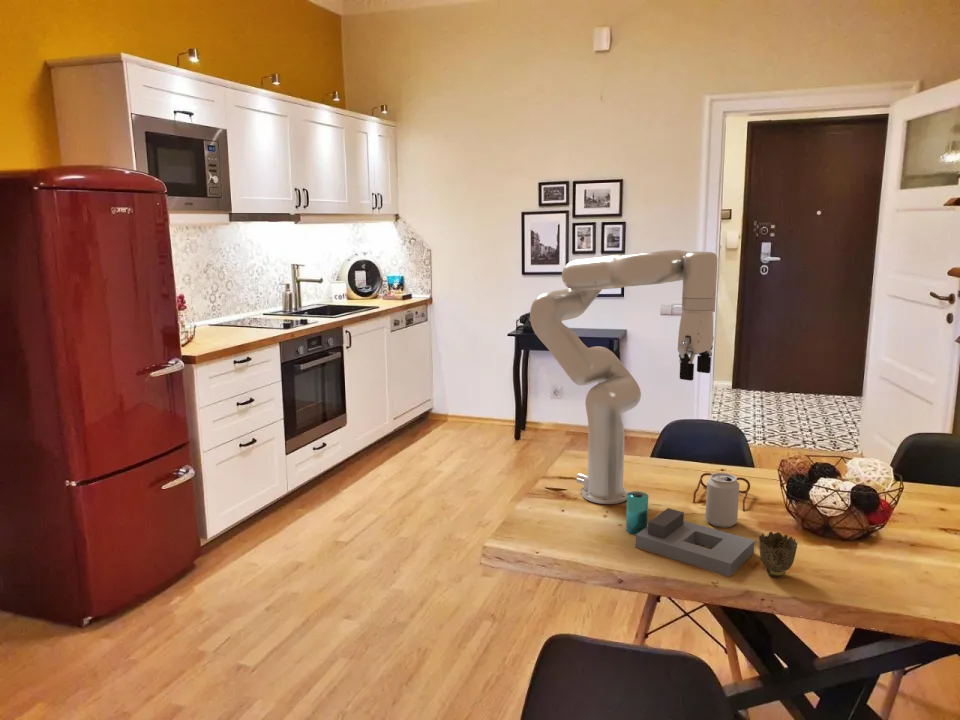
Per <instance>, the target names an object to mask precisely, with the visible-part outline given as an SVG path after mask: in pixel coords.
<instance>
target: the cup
mask: <svg viewBox="0 0 960 720" xmlns="http://www.w3.org/2000/svg"><path fill="white" fill-rule="evenodd" d="M758 540H759V541H758V544H759V545H758V546H759V556H760V561H761V562H762V563H761V564H763V566H764V567H765V568H766V569H765V570H766V573H767V575H768V576H770V577H773V578H783V577H784V576H785V574H786V571H788V570H789V569H790V568H791V567H792V566H793V564H794V561H795V558H796V555H797V554H796V553H797V548H798V541H796V538H793V536H790V537H789V536H788V534H784V535H782V533H781V532H779V531H777V532H775V533H773V531H769V532H768V535H765V534H764V533H761V535H759V536H758Z"/></svg>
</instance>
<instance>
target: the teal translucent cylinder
mask: <svg viewBox="0 0 960 720" xmlns="http://www.w3.org/2000/svg"><path fill="white" fill-rule="evenodd" d="M628 492H629V491H628ZM648 513H649V494H647V493H646V492H644V491H639V490H638V491H637V490H636V491H634V490H633V491H630V492H629V493H628V494H627V500H626V518H625V531H626V532H627V533H629V534H631V535H635V536H636V534H637V533H639V532H640V531H642V530H643V529H645V528H646V527H647V526H648V522H649V520H648V518H649V516H648Z"/></svg>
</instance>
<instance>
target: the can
mask: <svg viewBox="0 0 960 720" xmlns="http://www.w3.org/2000/svg"><path fill="white" fill-rule="evenodd" d="M711 474H712V475H710V476H709V477H710V478H709V479H708V480H706V481H707V482H706V483H707V484H706V485H707V488H706V500H705V501H706V502H705V517H704V518H705V520H706V521H707V522H708V523H709V524H710V525H712V526H714V527H716V528H724V529H725V528H731V527H733V526H734V525H735V524H736V525H737V523H738V517H739V516H738V514H739V498H740V493H739V490H740V482H738V480H737V478H738V477H737V476H736V475H734V474H732V473H731V474H730V473H726V472H714V473H711Z"/></svg>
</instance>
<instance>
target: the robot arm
mask: <svg viewBox="0 0 960 720" xmlns="http://www.w3.org/2000/svg"><path fill="white" fill-rule="evenodd" d="M717 277H718V255H717V254H716V253H715V252H712V251H684V250H681V249H680V250H679V249H670V250H668V249H667V250H659V251H652V252H644V253H638V254H635V253H634V254H627V255H621V254H620V253H619V254H618V253H617V254H609V255H602V256H591V257H584V258H577V259H573V260H570V261H569V262H568V263H566V264H565V265H564V267H563V269H562V272H561V279H562V282H563V284H564V285H565V286H566V287H567V288H563V289H557V290H551V291H547V292H544V293H541V294H540V295H538V296H537V297H536V298H534V300H533V302H532V304H531V306H530V310H529V319H530V320H529V321H530V325H531V327H532V330H533V332H534V334H535V335H536V336H537V338H538V339H539V341H541V343H542V344H543V345H544V346H545V347H546V348H547V350H549V352H550V353H551V355H552V357H554V359H555V360H556V362H557V363H558V364H559V365H560V367H561V368H562V369H563V371H564V372H565V374H566V375H567V376H568V377H569V379H570V380H571V381H572V382H573V383H575V384H576V385H577V386H589V385H591V384H592V385H593V384H595V383H597V384H595V385H594V386H592V387H591V388H590V389H589V390H588V392H587V393H586V396H585V404H584V405H585V410H586V416H587V429H588V433H587V435H588V437H587V441H588V446H587V447H588V448H587V450H588V451H587V475H586V474H583V473H579V472H578V473H577V475H576V479H575V482H576V483H578V484H581V485H583V487H582V489H581V496H582V497H583V498H584V499H585V500H587V501H589V502H592V503H596V504H599V505H600V504H601V505H614V504H621V503H623V502H625V501H626V502H627V494H628V493H629V491H628V489H627V488H625V487H624V473H625V472H624V469H625V468H624V467H625V427H624V423H623V421H622V414H624V413H626V412H629V411H631V410H632V409H634V408H635V407H637V406H638V405H639V403H640V401H641V399H642V398H641V397H642V391H641V387H640V386H639V384H638V383H637V380H636V379H635V378H634V376H633V375H632V374H631V372H630V371H629V370H628V369H627V368H626V366H625V365H624V364H623V363H622V361H621V360H620V359H619V358H618V357H617V355H616V354H615V353H614V352H613V351H612V350H610V349H608V348H607V347H605V346H591V347H588V346H587V345H586V344H585V343H583V341H582V340H581V339H580V337H579V336H578V335H577V334H576V332H575V331H573V330H572V329H571V328H570V327H568V326H566V325H565V324H564V323H563V321H567V320H572V319H575V318H578V317H580V316H581V315H583V314H584V312H585V311H586V310H588V308H589V307H590V306H591V304H593V302H594V301H595V300H596V298H597V297H598V295H600V293H601V292H602V290H610V289H611V290H612V289H613V290H614V289H622V288H626V287H627V288H628V287H638V286H649V285H651V286H653V285H661V284H666V283H672V282H680V281H682V290H681V291H682V293H681V294H682V295H681V311H682V312H681V315H680V321H679V329H678V339H677V352H678V357H679V379H680V380H684V381H694V376H695V375H694V373H695V363H693V362H694V360H695V357H696V355H697V362H696V363H697V364H696V372H698V373H701V374H702V373H703V374H710V373H711V366H712V355H713V353H712V350H713V346H714V345H713V342H714V312H716V298H717V297H716V296H717V295H716V294H717Z"/></svg>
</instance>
